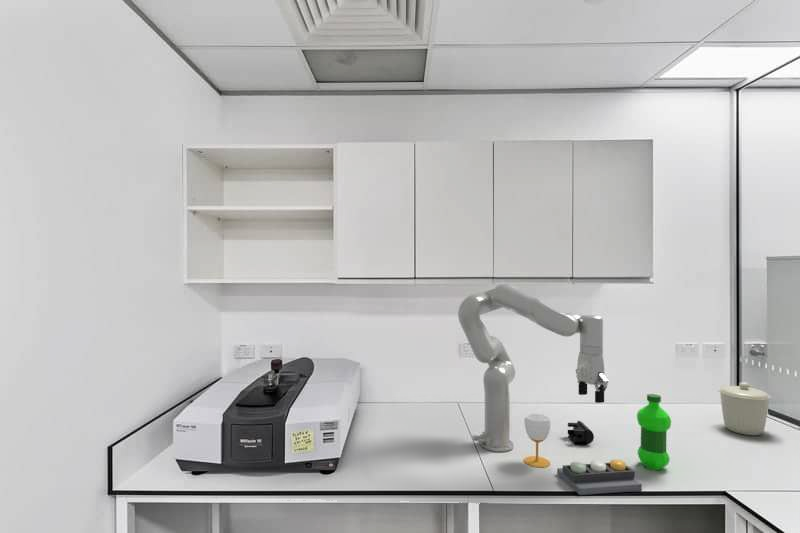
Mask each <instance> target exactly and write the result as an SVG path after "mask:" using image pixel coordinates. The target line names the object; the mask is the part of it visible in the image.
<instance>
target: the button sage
mask: <svg viewBox="0 0 800 533" xmlns="http://www.w3.org/2000/svg"><path fill="white" fill-rule="evenodd" d="M585 464H586V463H582V462H579V461H572V462H570V465H571V471H572V472H573V473H574V474H582V473H586V465H585Z"/></svg>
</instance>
